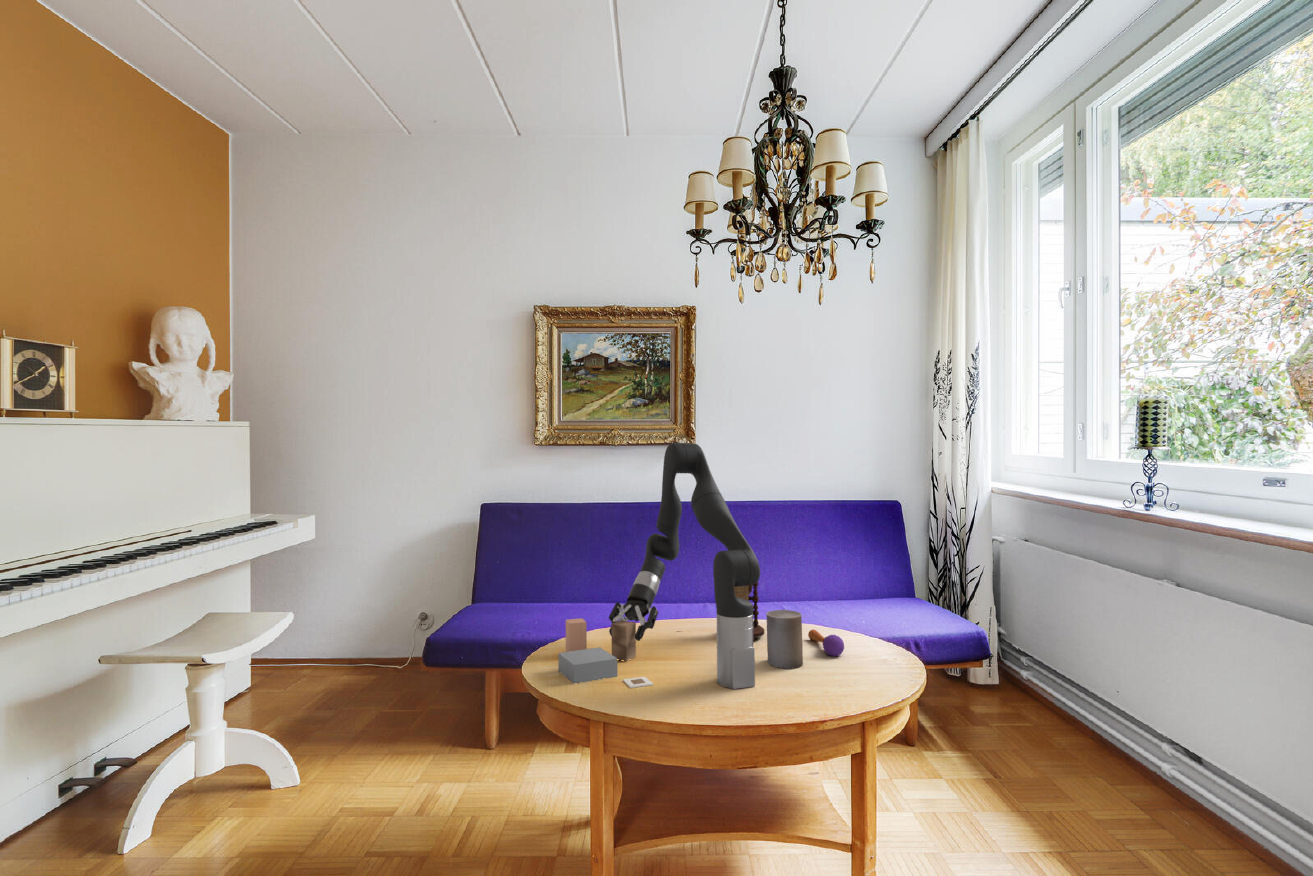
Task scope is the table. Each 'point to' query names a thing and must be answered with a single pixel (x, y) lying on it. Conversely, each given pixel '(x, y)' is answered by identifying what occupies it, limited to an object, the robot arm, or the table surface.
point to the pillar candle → (784, 638)
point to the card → (637, 682)
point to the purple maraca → (828, 642)
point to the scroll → (744, 593)
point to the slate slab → (587, 665)
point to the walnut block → (624, 640)
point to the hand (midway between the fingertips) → (624, 637)
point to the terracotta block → (576, 634)
